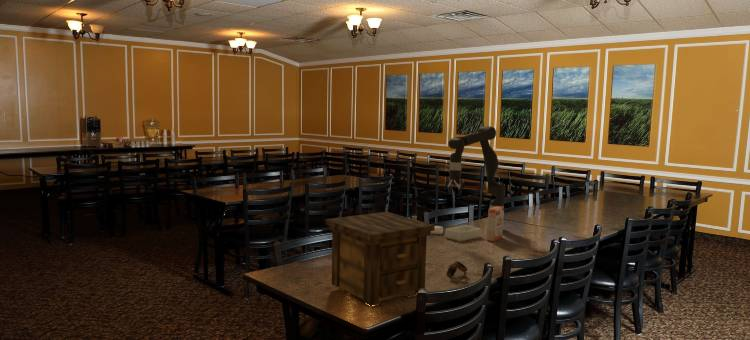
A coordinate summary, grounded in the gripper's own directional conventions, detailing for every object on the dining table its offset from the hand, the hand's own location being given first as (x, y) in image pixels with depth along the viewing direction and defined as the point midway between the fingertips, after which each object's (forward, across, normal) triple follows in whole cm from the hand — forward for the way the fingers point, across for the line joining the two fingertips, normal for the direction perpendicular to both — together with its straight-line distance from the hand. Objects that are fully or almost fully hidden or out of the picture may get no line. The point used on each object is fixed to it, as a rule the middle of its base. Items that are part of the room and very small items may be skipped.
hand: (454, 193), depth 340 cm
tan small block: (+29, +16, -2) cm, 34 cm away
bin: (+29, -3, -7) cm, 30 cm away
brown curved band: (+30, -55, +58) cm, 85 cm away
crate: (+29, -50, +105) cm, 120 cm away
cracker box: (+30, -18, -21) cm, 40 cm away
